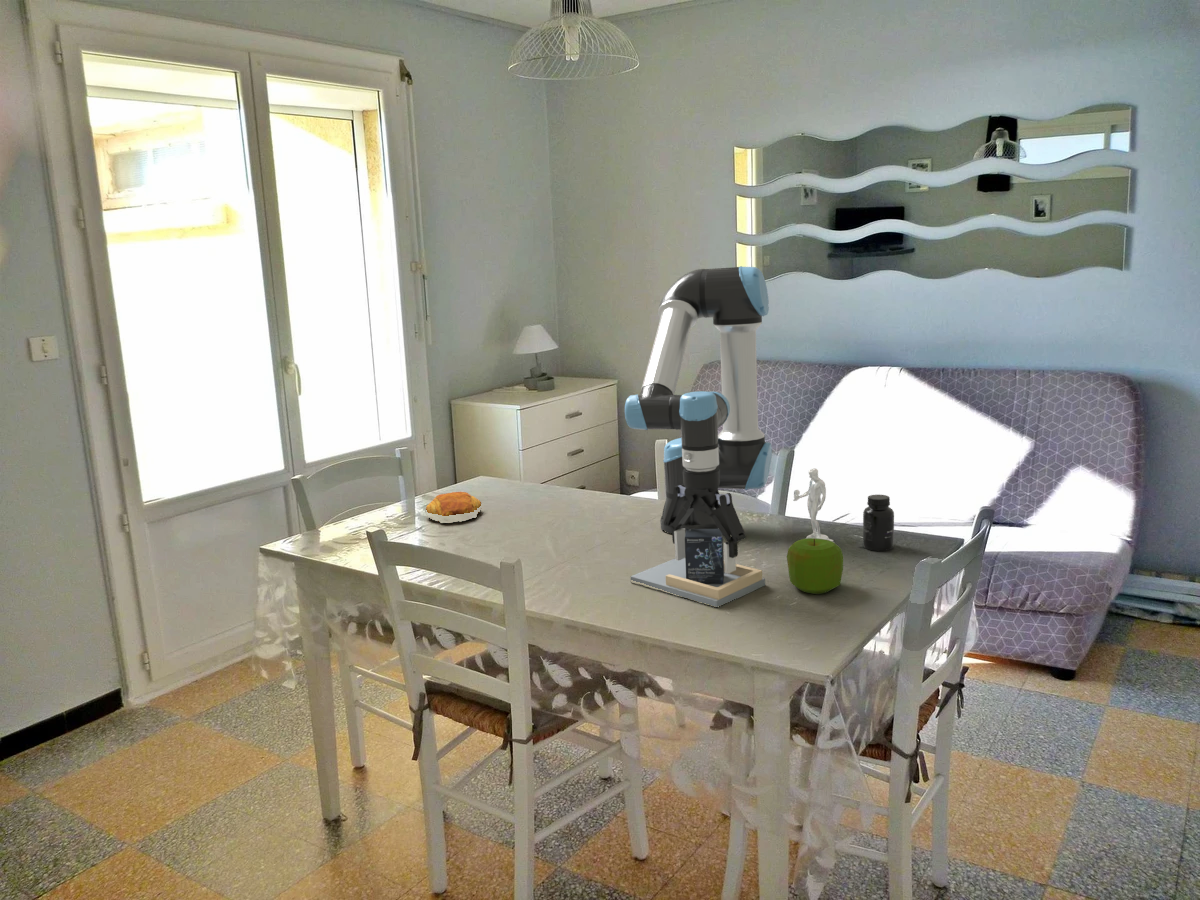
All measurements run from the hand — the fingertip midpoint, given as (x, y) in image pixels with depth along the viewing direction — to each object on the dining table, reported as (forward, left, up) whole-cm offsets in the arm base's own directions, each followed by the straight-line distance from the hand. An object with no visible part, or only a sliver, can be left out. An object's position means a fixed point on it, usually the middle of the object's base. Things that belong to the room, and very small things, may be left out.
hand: (705, 565), depth 201 cm
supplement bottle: (+16, +43, -5) cm, 46 cm away
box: (0, 0, -4) cm, 4 cm away
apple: (+19, +13, -5) cm, 23 cm away
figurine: (+2, +38, -5) cm, 38 cm away
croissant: (-91, -1, -5) cm, 91 cm away
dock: (-2, 0, -5) cm, 5 cm away
